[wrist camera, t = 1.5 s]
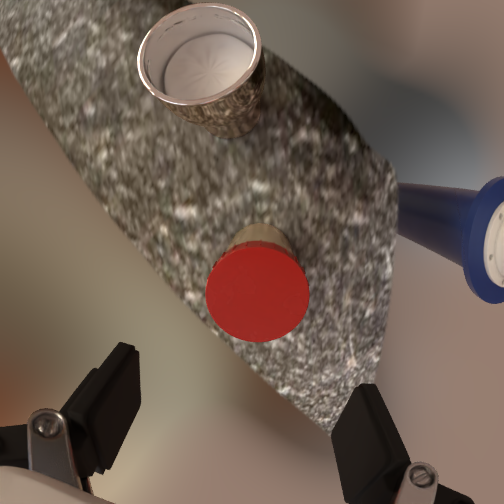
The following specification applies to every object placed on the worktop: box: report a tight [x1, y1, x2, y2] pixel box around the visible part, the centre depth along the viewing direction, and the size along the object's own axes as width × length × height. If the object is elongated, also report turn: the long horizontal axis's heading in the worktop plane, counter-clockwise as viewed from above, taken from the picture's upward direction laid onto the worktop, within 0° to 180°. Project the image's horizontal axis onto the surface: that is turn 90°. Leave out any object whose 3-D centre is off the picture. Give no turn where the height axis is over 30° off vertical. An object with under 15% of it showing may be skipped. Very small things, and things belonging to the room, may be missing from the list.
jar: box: [226, 223, 294, 255], centre depth 25 cm, size 6×6×11 cm
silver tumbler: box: [137, 2, 266, 139], centre depth 19 cm, size 7×7×15 cm
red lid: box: [205, 240, 309, 342], centre depth 20 cm, size 7×7×2 cm
